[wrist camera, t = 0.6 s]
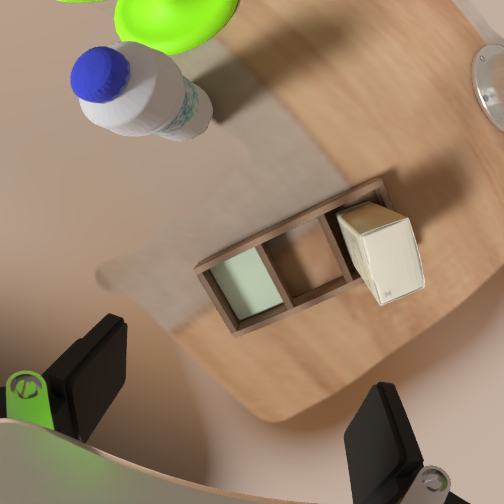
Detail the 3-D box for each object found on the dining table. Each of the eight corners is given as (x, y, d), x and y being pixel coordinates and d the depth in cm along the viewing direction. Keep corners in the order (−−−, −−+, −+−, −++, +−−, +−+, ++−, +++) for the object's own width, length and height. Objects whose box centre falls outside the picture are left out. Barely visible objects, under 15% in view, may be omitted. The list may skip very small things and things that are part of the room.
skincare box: (384, 250, 34) (428, 290, 23) (350, 263, 35) (380, 310, 23) (368, 197, 33) (411, 215, 21) (332, 210, 34) (359, 235, 22)
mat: (255, 244, 36) (255, 245, 35) (284, 299, 37) (285, 301, 37) (209, 266, 37) (208, 267, 36) (239, 318, 38) (239, 320, 38)
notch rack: (374, 177, 32) (381, 178, 30) (403, 252, 34) (411, 258, 32) (198, 262, 37) (193, 269, 34) (237, 328, 39) (234, 338, 36)
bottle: (159, 90, 32) (47, 37, 12) (217, 83, 31) (145, 3, 12) (160, 146, 33) (40, 140, 14) (218, 142, 33) (140, 119, 14)
